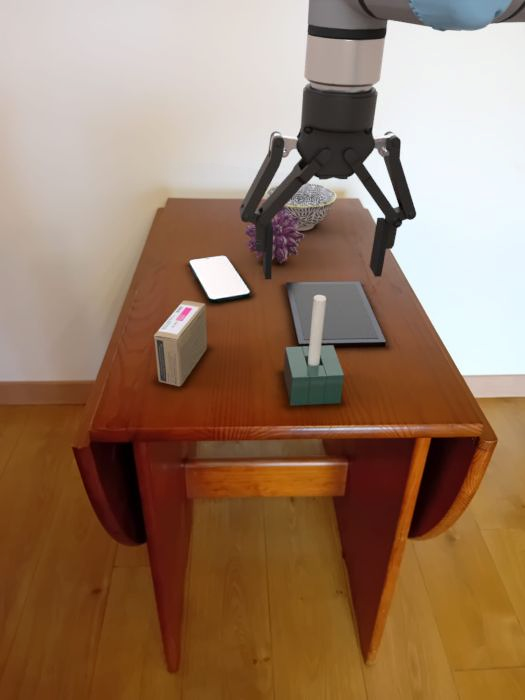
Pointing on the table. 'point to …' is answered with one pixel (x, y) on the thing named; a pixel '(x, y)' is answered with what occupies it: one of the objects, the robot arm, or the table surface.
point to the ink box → (181, 342)
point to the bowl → (309, 204)
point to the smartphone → (219, 279)
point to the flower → (280, 235)
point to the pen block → (313, 376)
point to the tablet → (335, 314)
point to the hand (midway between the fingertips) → (321, 273)
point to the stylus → (316, 330)
